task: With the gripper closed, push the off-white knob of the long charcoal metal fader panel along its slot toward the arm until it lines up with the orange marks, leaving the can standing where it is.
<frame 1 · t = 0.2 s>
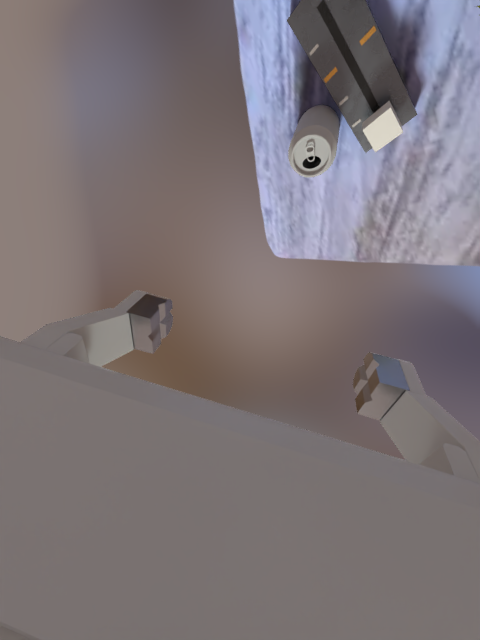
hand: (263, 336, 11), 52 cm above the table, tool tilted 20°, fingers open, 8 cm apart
fader knob: (381, 125, 40), point 6 cm above the table, slide at 0.0 cm
fader panel: (355, 65, 40), on the table
can: (318, 128, 47), on the table
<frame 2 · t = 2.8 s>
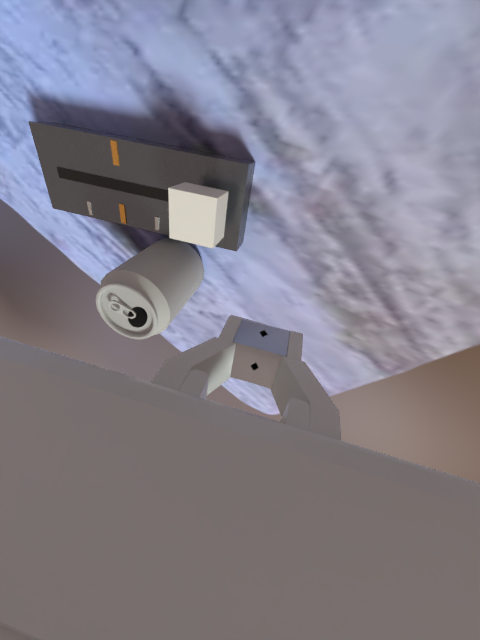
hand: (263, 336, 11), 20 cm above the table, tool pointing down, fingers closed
fader knob: (202, 212, 23), point 6 cm above the table, slide at 0.0 cm
fader panel: (152, 185, 28), on the table
can: (179, 263, 34), on the table
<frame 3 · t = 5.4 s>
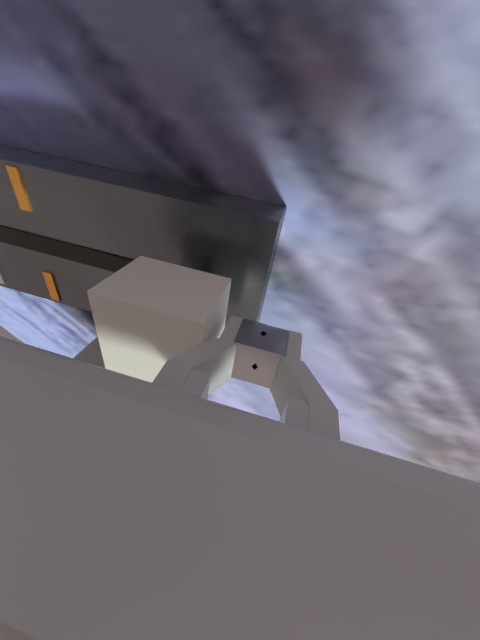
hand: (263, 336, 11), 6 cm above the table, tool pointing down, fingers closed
fader knob: (177, 314, 11), point 6 cm above the table, slide at 0.2 cm, touching gripper
fader panel: (105, 235, 17), on the table
can: (157, 345, 22), on the table
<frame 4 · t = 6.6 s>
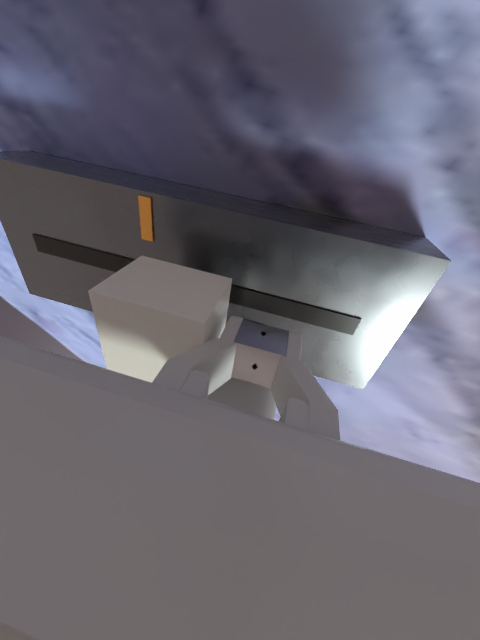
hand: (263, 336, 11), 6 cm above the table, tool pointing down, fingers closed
fader knob: (178, 314, 11), point 6 cm above the table, slide at 7.1 cm, touching gripper
fader panel: (205, 260, 16), on the table
can: (234, 367, 21), on the table
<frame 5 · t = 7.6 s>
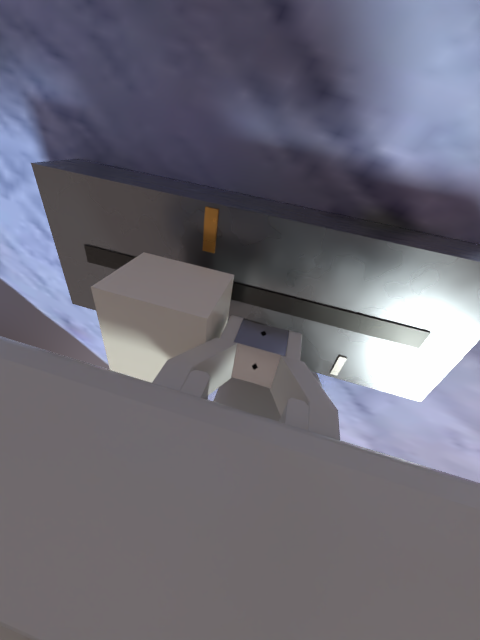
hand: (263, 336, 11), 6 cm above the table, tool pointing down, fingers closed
fader knob: (180, 311, 11), point 6 cm above the table, slide at 10.2 cm, touching gripper
fader panel: (254, 269, 16), on the table
can: (273, 376, 21), on the table
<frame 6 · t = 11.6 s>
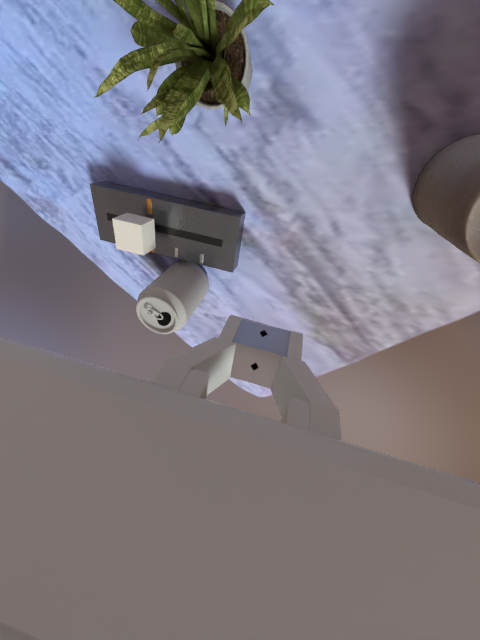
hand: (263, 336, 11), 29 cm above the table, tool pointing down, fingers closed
fader knob: (139, 231, 36), point 6 cm above the table, slide at 10.2 cm
fader panel: (172, 224, 40), on the table
can: (190, 278, 45), on the table
house plant: (223, 58, 28), on the table
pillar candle: (462, 183, 29), on the table
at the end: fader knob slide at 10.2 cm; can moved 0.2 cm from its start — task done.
